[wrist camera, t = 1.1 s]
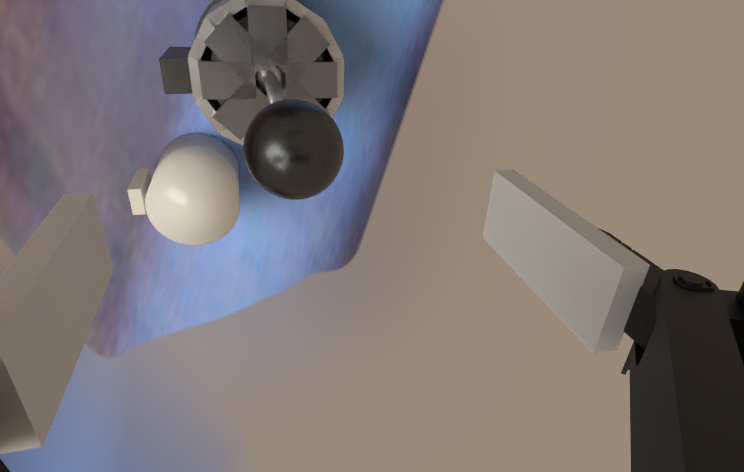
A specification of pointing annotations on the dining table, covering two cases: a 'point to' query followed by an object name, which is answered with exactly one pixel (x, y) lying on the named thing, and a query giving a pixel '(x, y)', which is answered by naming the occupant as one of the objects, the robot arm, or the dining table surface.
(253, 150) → the plunger
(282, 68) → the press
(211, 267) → the dining table surface
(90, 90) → the dining table surface
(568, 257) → the robot arm
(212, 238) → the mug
